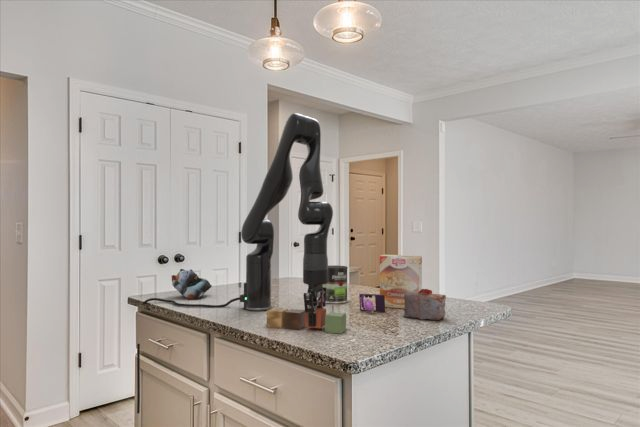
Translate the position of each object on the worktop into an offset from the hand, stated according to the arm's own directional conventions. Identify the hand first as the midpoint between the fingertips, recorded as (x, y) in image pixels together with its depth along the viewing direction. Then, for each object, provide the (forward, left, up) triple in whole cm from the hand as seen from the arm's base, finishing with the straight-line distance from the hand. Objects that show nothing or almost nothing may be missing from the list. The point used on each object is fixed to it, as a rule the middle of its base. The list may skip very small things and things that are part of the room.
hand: (315, 323), depth 135 cm
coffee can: (-9, +46, -2) cm, 47 cm away
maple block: (-13, 0, -2) cm, 13 cm away
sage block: (+6, 0, -2) cm, 7 cm away
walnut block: (-7, 0, -2) cm, 7 cm away
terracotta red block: (0, 0, -1) cm, 1 cm away
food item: (+29, +27, -2) cm, 40 cm away
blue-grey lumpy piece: (-69, +34, -2) cm, 77 cm away
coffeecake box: (+18, +44, -2) cm, 48 cm away
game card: (+10, +30, -2) cm, 32 cm away
